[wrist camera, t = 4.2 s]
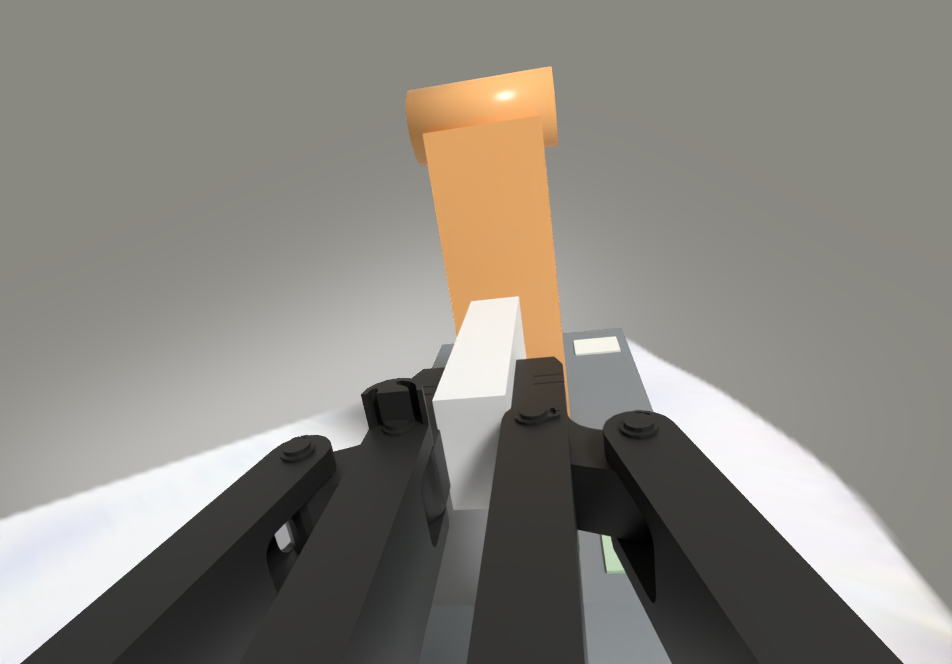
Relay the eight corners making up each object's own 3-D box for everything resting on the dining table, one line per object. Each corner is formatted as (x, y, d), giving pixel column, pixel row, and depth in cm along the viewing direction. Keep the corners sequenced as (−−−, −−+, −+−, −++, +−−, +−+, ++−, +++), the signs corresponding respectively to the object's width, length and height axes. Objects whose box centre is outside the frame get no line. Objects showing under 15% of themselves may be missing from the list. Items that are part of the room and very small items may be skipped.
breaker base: (349, 681, 17) (325, 603, 16) (449, 387, 35) (441, 342, 34) (723, 681, 15) (725, 595, 14) (624, 373, 34) (621, 325, 33)
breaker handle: (462, 439, 23) (399, 88, 18) (471, 404, 26) (418, 92, 21) (584, 431, 22) (551, 61, 17) (579, 396, 25) (550, 69, 20)
